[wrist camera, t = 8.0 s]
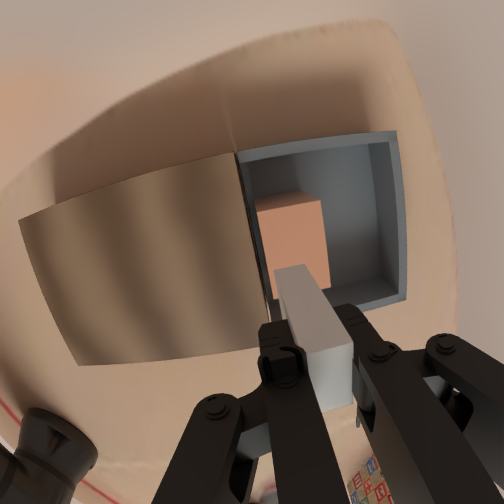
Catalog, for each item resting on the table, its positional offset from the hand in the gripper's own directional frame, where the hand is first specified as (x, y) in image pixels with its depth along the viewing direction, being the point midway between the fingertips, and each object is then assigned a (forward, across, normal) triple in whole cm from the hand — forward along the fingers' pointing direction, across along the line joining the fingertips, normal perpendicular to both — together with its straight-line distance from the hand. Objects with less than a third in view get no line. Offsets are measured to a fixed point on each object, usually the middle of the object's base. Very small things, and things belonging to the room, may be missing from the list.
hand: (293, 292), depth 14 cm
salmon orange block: (+8, +1, 0) cm, 8 cm away
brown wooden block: (+12, +10, 0) cm, 16 cm away
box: (+11, -5, 0) cm, 12 cm away
